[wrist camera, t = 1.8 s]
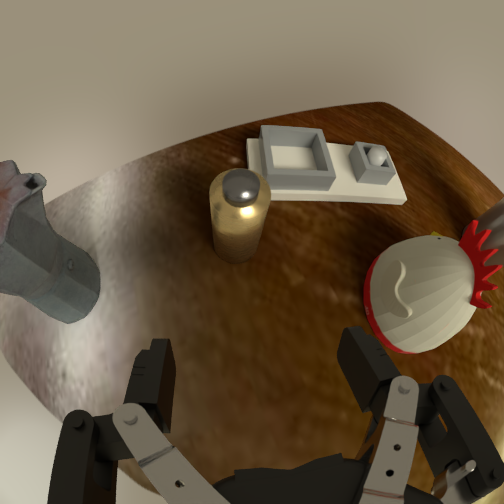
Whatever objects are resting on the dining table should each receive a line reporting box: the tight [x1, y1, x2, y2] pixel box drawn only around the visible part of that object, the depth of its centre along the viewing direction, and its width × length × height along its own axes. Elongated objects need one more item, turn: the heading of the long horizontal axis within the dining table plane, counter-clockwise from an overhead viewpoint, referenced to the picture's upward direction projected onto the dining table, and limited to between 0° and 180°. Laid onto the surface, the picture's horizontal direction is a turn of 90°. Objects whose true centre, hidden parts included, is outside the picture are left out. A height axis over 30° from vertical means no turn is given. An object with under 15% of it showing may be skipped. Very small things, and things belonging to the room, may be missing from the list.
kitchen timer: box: [364, 220, 503, 354], centre depth 23 cm, size 14×14×15 cm
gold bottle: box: [209, 168, 271, 264], centre depth 25 cm, size 5×5×11 cm
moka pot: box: [0, 160, 100, 324], centre depth 17 cm, size 10×15×20 cm, turn 118°
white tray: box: [246, 125, 407, 205], centre depth 32 cm, size 22×9×6 cm, turn 94°
